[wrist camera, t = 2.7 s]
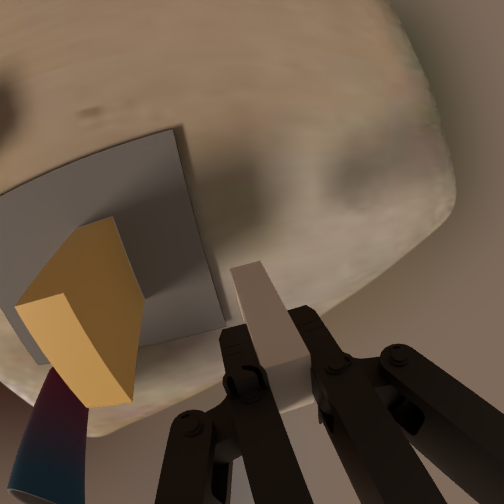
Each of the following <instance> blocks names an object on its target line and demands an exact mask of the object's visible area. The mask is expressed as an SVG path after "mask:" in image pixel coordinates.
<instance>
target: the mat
mask: <svg viewBox="0 0 504 504" xmlns="http://www.w3.org/2000/svg"><path fill="white" fill-rule="evenodd" d="M111 216H113V218H114V221H115V224H116V227H117V229H118V232H119V235H120V238H121V241H122V243H123V246H124V249H125V251H126V254H127V257H128V259H129V262H130V264H131V267H132V269H133V272H134V274H135V277H136V279H137V282H138V284H139V287H140V289H141V291H142V294H143V296H144V298H145V303H144V309H143V316H142V323H141V330H140V337H139V345H138V347H142V346H147V345H152V344H156V343H161V342H165V341H169V340H174V339H178V338H182V337H186V336H191V335H195V334H199V333H203V332H207V331H211V330H215V329H218V328H222V327H226V323H225V320H224V317H223V313H222V310H221V307H220V304H219V300H218V297H217V294H216V290H215V287H214V284H213V280H212V277H211V273H210V270H209V266H208V263H207V259H206V256H205V252H204V249H203V245H202V242H201V238H200V234H199V231H198V227H197V223H196V220H195V216H194V212H193V208H192V204H191V201H190V197H189V193H188V189H187V185H186V181H185V177H184V173H183V169H182V165H181V161H180V157H179V153H178V148H177V144H176V140H175V135H174V131H173V129H171V130H167V131H164V132H160V133H157V134H153V135H150V136H147V137H143V138H140V139H137V140H134V141H131V142H127V143H124V144H121V145H118V146H115V147H113V148H110V149H107V150H104V151H101V152H99V153H96V154H93V155H90V156H88V157H85V158H83V159H80V160H78V161H75V162H73V163H70V164H68V165H65V166H63V167H60V168H58V169H56V170H54V171H51V172H49V173H47V174H45V175H42V176H40V177H38V178H36V179H34V180H32V181H29V182H27V183H25V184H23V185H21V186H19V187H17V188H15V189H13V190H11V191H9V192H7V193H6V194H4V195H2V196H0V307H1V309H2V311H3V312H4V314H5V316H6V318H7V319H8V321H9V323H10V324H11V326H12V327H13V329H14V331H15V332H16V334H17V335H18V337H19V338H20V340H21V341H22V343H23V344H24V346H25V347H26V349H27V350H28V352H29V353H30V355H31V356H32V357H33V359H34V360H35V362H36V363H37V364H38V365H43V364H49V363H50V362H49V360H48V359H47V357H46V356H45V355H44V353H43V352H42V350H41V349H40V347H39V346H38V344H37V343H36V341H35V340H34V338H33V337H32V335H31V334H30V332H29V330H28V329H27V327H26V326H25V324H24V322H23V321H22V319H21V317H20V316H19V314H18V312H17V310H16V309H15V305H16V304H17V302H18V301H19V299H20V298H21V297H22V295H23V294H24V292H25V291H26V290H27V288H28V287H29V286H30V284H31V283H32V282H33V280H34V279H35V278H36V276H37V275H38V274H39V272H40V271H41V270H42V269H43V267H44V266H45V265H46V264H47V262H48V261H49V260H50V259H51V257H52V256H53V255H54V254H55V253H56V251H57V250H58V249H59V248H60V247H61V245H62V244H63V243H64V242H65V241H66V240H67V238H68V237H69V236H70V235H71V234H72V233H73V232H74V231H75V229H76V228H78V227H81V226H84V225H87V224H90V223H93V222H96V221H99V220H102V219H105V218H108V217H111Z"/></svg>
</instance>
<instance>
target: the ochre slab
mask: <svg viewBox="0 0 504 504" xmlns="http://www.w3.org/2000/svg"><path fill="white" fill-rule="evenodd" d="M144 303H145V298H144V296H143V294H142V291H141V289H140V287H139V284H138V282H137V279H136V277H135V274H134V272H133V269H132V267H131V264H130V262H129V259H128V257H127V254H126V251H125V249H124V246H123V243H122V241H121V238H120V235H119V232H118V229H117V227H116V224H115V221H114V218H113V216H111V217H108V218H105V219H102V220H99V221H96V222H93V223H90V224H87V225H84V226H81V227H78V228H76V229H75V231H74V232H73V233H72V234H71V235H70V236H69V237H68V238H67V240H66V241H65V242H64V243H63V244H62V245H61V247H60V248H59V249H58V250H57V251H56V253H55V254H54V255H53V256H52V257H51V259H50V260H49V261H48V262H47V264H46V265H45V266H44V267H43V269H42V270H41V271H40V272H39V274H38V275H37V276H36V278H35V279H34V280H33V282H32V283H31V284H30V286H29V287H28V288H27V290H26V291H25V292H24V294H23V295H22V297H21V298H20V299H19V301H18V302H17V304H16V305H15V309H16V310H17V312H18V314H19V316H20V317H21V319H22V321H23V322H24V324H25V326H26V327H27V329H28V330H29V332H30V334H31V335H32V337H33V338H34V340H35V341H36V343H37V344H38V346H39V347H40V349H41V350H42V352H43V353H44V355H45V356H46V357H47V359H48V360H49V362H50V363H51V364H52V366H53V367H54V368H55V370H56V371H57V372H58V374H59V375H60V376H61V378H62V379H63V380H64V381H65V383H66V384H67V385H68V386H69V388H70V389H71V390H72V391H73V393H74V394H75V395H76V396H77V397H78V399H79V400H80V401H81V402H82V403H83V404H84V406H85V407H86V408H91V407H100V406H109V405H117V404H125V403H132V402H133V391H134V380H135V370H136V361H137V353H138V345H139V337H140V330H141V323H142V316H143V309H144Z"/></svg>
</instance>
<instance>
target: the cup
mask: <svg viewBox="0 0 504 504" xmlns="http://www.w3.org/2000/svg"><path fill="white" fill-rule="evenodd" d="M88 411H89V408H86V407H85V406H84V404H83V403H82V402H81V401H80V400H79V399H78V397H77V396H76V395H75V394H74V393H73V391H72V390H71V389H70V388H69V386H68V385H67V384H66V383H65V381H64V380H63V379H62V378H61V376H60V375H59V374H58V372H57V371H56V370H55V368H54V367H52V368H51V369H50V370H49V373H48V375H47V377H46V379H45V382H44V384H43V386H42V388H41V391H40V393H39V395H38V398H37V400H36V403H35V405H34V408H33V410H32V413H31V416H30V418H29V421H28V424H27V426H26V429H25V432H24V434H23V438H22V440H21V443H20V446H19V449H18V452H17V455H16V459H15V462H14V465H13V469H12V472H11V476H10V480H9V484H8V487H7V491H8V493H9V494H10V495H12V496H13V497H14V498H15V499H17V500H18V501H20V502H22V503H24V504H85V449H86V434H87V422H88Z"/></svg>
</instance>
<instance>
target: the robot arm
mask: <svg viewBox="0 0 504 504" xmlns="http://www.w3.org/2000/svg"><path fill="white" fill-rule="evenodd" d="M230 272H231V276H232V280H233V284H234V288H235V291H236V295H237V299H238V303H239V307H240V311H241V314H242V317H243V321H244V324H242V325H238V326H234V327H231V328H227V329H223V330H222V332H221V335H220V338H219V342H220V347H221V352H222V357H223V362H224V367H225V372H226V373H225V375H224V377H223V386H224V388H225V391H226V393H227V396H226V398H225V399H224V400H223V401H222V403H221V404H219V405H218V406H216V407H215V408H213V409H211V410H209V411H207V412H205V413H204V412H203V411H200V410H188V411H185V412H183V413H181V414H179V415H178V416H177V417H176V418H175V419H174V421H173V423H172V425H171V428H170V432H169V437H168V441H167V446H166V450H165V455H164V460H163V464H162V469H161V474H160V479H159V484H158V489H157V494H156V499H155V504H230V496H231V482H232V467H233V460H234V459H236V458H238V457H240V456H241V455H242V457H243V461H244V464H245V469H246V472H247V476H248V480H249V484H250V488H251V491H252V495H253V499H254V502H255V504H314V503H313V501H312V498H311V496H310V493H309V491H308V488H307V485H306V483H305V480H304V478H303V475H302V472H301V470H300V467H299V464H298V462H297V459H296V456H295V454H294V451H293V448H292V446H291V444H290V441H289V438H288V435H287V432H286V430H285V427H284V424H283V421H282V419H281V416H280V413H283V412H286V411H290V410H293V409H296V408H299V407H302V406H305V405H308V404H311V403H313V402H314V398H315V400H316V402H317V404H318V419H319V424H321V423H322V422H323V424H324V426H325V428H326V430H327V432H328V435H329V437H330V439H331V441H332V443H333V445H334V447H335V449H336V451H337V454H338V456H339V458H340V460H341V462H342V464H343V466H344V469H345V471H346V473H347V475H348V477H349V479H350V481H351V483H352V486H353V488H354V489H355V492H356V494H357V496H358V498H359V500H360V502H361V504H447V503H446V501H445V499H444V498H443V496H442V494H441V493H440V491H439V489H438V488H437V486H436V484H435V483H434V481H433V479H432V478H431V476H430V475H429V473H428V471H427V470H426V468H425V467H424V465H423V463H422V462H421V460H420V459H419V457H418V455H417V454H416V452H415V451H414V449H413V448H412V446H411V444H412V445H413V446H414V447H415V448H416V449H417V450H418V451H419V452H421V453H422V454H423V455H424V456H425V457H426V458H427V459H429V460H430V461H431V462H432V463H433V464H434V465H435V466H436V467H437V468H439V469H440V470H441V471H442V472H443V473H444V474H445V475H447V476H448V477H449V478H450V479H451V480H452V481H454V482H455V483H456V484H457V485H458V486H459V487H461V488H462V489H463V490H464V491H465V492H466V493H468V494H469V495H470V496H471V497H472V498H474V499H475V500H476V501H477V502H478V503H479V504H504V414H503V413H501V412H500V411H498V410H497V409H496V408H495V407H493V406H492V405H491V404H489V403H488V402H487V401H485V400H484V399H482V398H481V397H479V396H478V395H477V394H475V393H474V392H473V391H471V390H470V389H469V388H467V387H466V386H464V385H463V384H462V383H460V382H459V381H458V380H456V379H455V378H453V377H452V376H451V375H449V374H448V373H446V372H445V371H444V370H442V369H441V368H440V367H438V366H437V365H435V364H434V363H433V362H431V361H430V360H428V359H427V358H426V357H424V356H423V355H421V354H420V353H418V352H417V351H416V350H414V349H413V348H411V347H409V346H407V345H404V344H392V345H390V346H388V347H386V348H385V349H384V350H383V351H382V352H381V355H380V357H373V358H364V359H358V358H353V357H352V356H351V355H349V354H347V353H344V352H342V350H341V349H340V347H339V346H338V344H337V343H336V341H335V340H334V338H333V337H332V335H331V334H330V332H329V331H328V329H327V328H326V327H325V325H324V323H323V322H322V320H321V319H320V317H319V316H318V314H317V313H316V311H315V310H313V309H312V308H310V307H308V306H307V305H304V306H301V307H298V308H294V309H291V310H288V311H287V310H286V308H285V306H284V304H283V302H282V300H281V299H280V297H279V295H278V293H277V291H276V289H275V287H274V286H273V284H272V282H271V280H270V278H269V276H268V274H267V273H266V271H265V269H264V267H263V265H262V263H261V261H257V262H254V263H250V264H246V265H242V266H239V267H235V268H231V269H230ZM409 442H410V443H411V444H410V443H409Z"/></svg>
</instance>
